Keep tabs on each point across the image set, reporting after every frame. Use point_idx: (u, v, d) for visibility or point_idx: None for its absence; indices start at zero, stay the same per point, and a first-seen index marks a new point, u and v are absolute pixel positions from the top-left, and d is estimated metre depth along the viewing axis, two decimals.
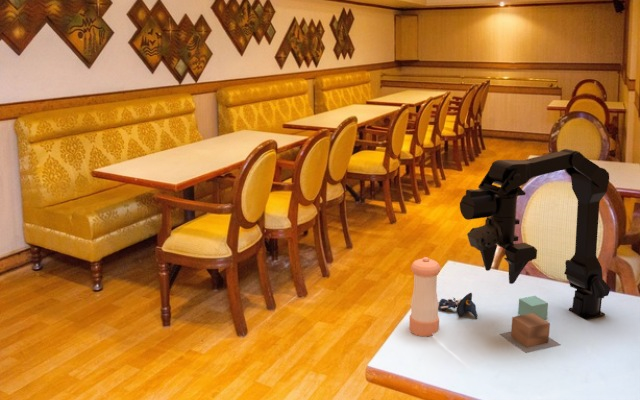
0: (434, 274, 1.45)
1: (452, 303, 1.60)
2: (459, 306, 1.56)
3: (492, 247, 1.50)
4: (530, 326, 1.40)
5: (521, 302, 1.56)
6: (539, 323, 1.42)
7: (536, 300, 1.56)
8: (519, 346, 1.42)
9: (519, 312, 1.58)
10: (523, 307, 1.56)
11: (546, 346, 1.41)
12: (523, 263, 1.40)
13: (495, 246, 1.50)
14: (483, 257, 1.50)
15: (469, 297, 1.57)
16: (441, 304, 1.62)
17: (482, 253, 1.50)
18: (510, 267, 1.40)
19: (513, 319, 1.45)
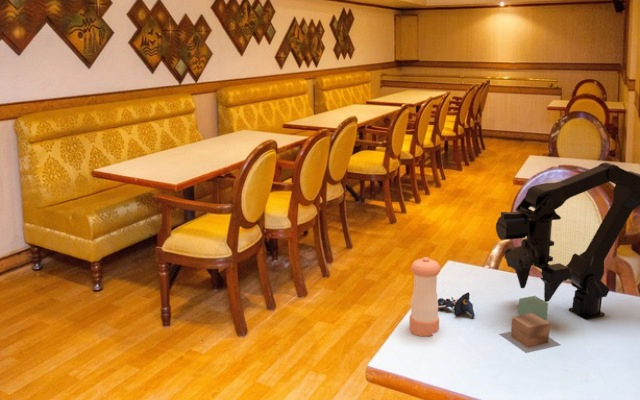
0: (434, 274, 1.45)
1: (449, 302, 1.60)
2: (456, 305, 1.56)
3: None
4: (530, 326, 1.40)
5: (521, 302, 1.56)
6: (539, 323, 1.42)
7: (536, 300, 1.56)
8: (519, 346, 1.42)
9: (519, 312, 1.58)
10: (523, 307, 1.56)
11: (546, 346, 1.41)
12: (558, 282, 1.49)
13: (529, 265, 1.59)
14: (518, 276, 1.59)
15: (466, 297, 1.57)
16: (439, 303, 1.62)
17: (518, 272, 1.59)
18: (546, 286, 1.49)
19: (513, 319, 1.45)
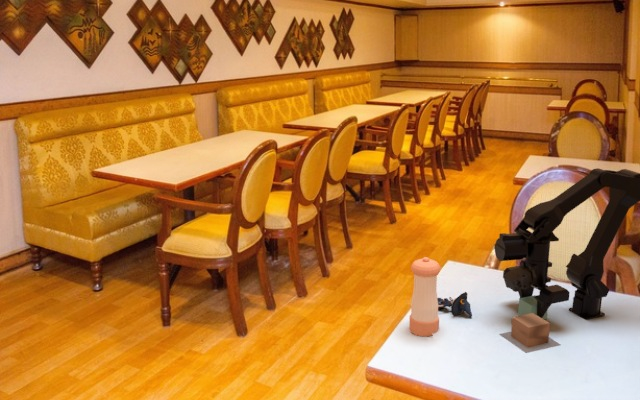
0: (434, 274, 1.45)
1: (447, 302, 1.60)
2: (453, 305, 1.56)
3: (530, 289, 1.59)
4: (530, 326, 1.40)
5: (521, 301, 1.56)
6: (539, 323, 1.42)
7: (536, 300, 1.56)
8: (519, 346, 1.42)
9: (519, 312, 1.58)
10: (523, 306, 1.56)
11: (546, 346, 1.41)
12: None
13: (532, 288, 1.59)
14: None
15: (464, 296, 1.58)
16: None
17: (520, 295, 1.58)
18: (538, 304, 1.52)
19: (513, 319, 1.45)
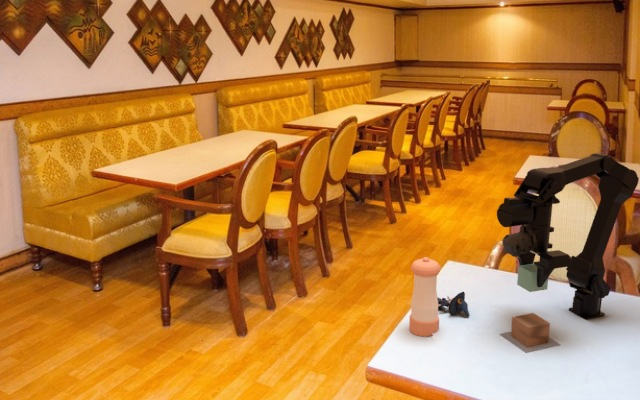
0: (434, 274, 1.45)
1: (445, 302, 1.61)
2: (451, 305, 1.57)
3: (530, 256, 1.51)
4: (530, 326, 1.40)
5: (521, 268, 1.49)
6: (539, 323, 1.42)
7: None
8: (519, 346, 1.42)
9: (518, 280, 1.50)
10: (523, 274, 1.48)
11: (546, 346, 1.41)
12: None
13: (533, 255, 1.51)
14: None
15: (461, 296, 1.58)
16: None
17: (521, 262, 1.51)
18: (539, 271, 1.44)
19: (513, 319, 1.45)
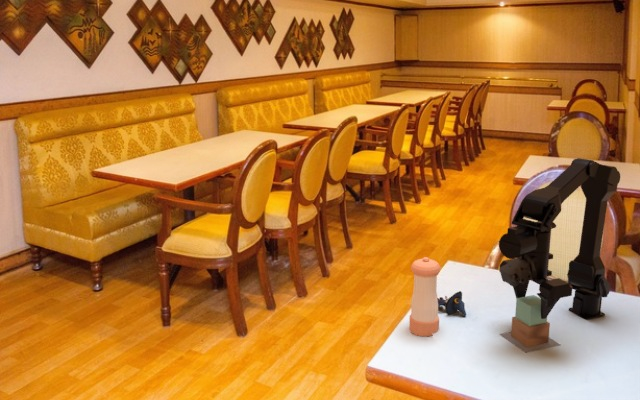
0: (434, 274, 1.45)
1: (442, 301, 1.61)
2: (447, 304, 1.57)
3: None
4: (530, 326, 1.40)
5: (519, 301, 1.43)
6: None
7: (535, 300, 1.42)
8: (519, 346, 1.42)
9: (517, 313, 1.44)
10: (521, 307, 1.42)
11: (546, 346, 1.41)
12: (556, 298, 1.37)
13: None
14: (515, 291, 1.46)
15: (458, 296, 1.58)
16: None
17: (515, 287, 1.46)
18: (542, 302, 1.37)
19: (513, 319, 1.45)
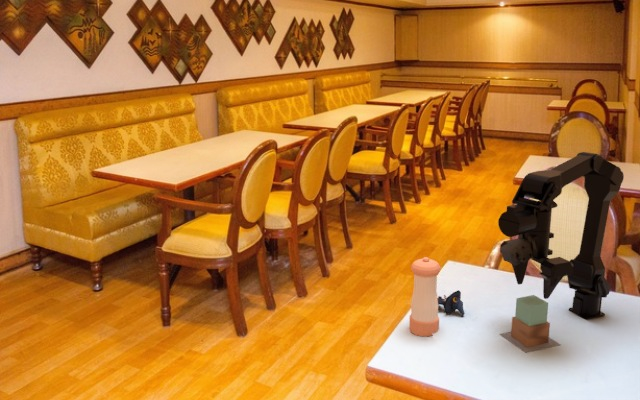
0: (434, 274, 1.45)
1: (441, 300, 1.61)
2: (446, 303, 1.57)
3: None
4: (530, 326, 1.40)
5: (519, 301, 1.43)
6: None
7: (535, 300, 1.42)
8: (519, 346, 1.42)
9: (517, 313, 1.44)
10: (521, 307, 1.42)
11: (546, 346, 1.41)
12: (558, 278, 1.37)
13: None
14: (515, 271, 1.47)
15: (457, 295, 1.59)
16: None
17: (514, 267, 1.47)
18: (545, 282, 1.37)
19: (513, 319, 1.45)
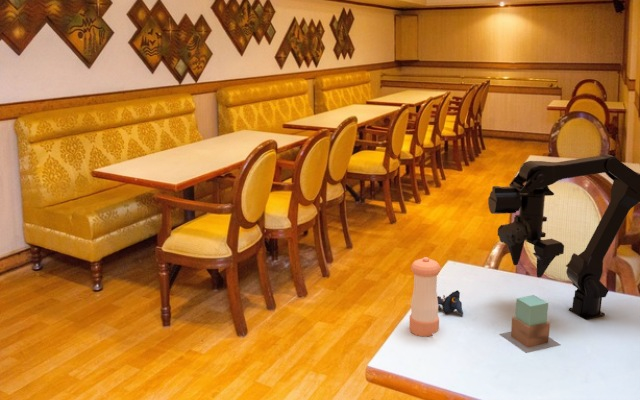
0: (434, 274, 1.45)
1: (439, 300, 1.62)
2: (445, 303, 1.57)
3: (519, 243, 1.59)
4: (530, 326, 1.40)
5: (519, 301, 1.43)
6: None
7: (535, 300, 1.42)
8: (519, 346, 1.42)
9: (517, 313, 1.44)
10: (521, 307, 1.42)
11: (546, 346, 1.41)
12: (550, 258, 1.49)
13: (522, 242, 1.59)
14: (511, 252, 1.59)
15: (456, 295, 1.59)
16: None
17: (510, 249, 1.59)
18: (538, 261, 1.49)
19: (513, 319, 1.45)
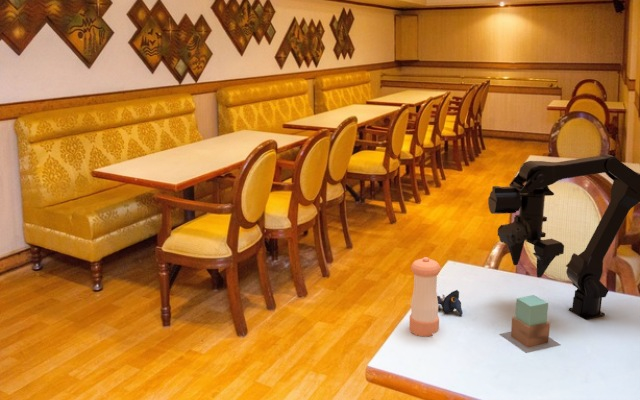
0: (434, 274, 1.45)
1: (439, 300, 1.62)
2: (444, 303, 1.58)
3: (519, 243, 1.59)
4: (530, 326, 1.40)
5: (519, 301, 1.43)
6: None
7: (535, 300, 1.42)
8: (519, 346, 1.42)
9: (517, 313, 1.44)
10: (521, 307, 1.42)
11: (546, 346, 1.41)
12: (550, 258, 1.49)
13: (522, 242, 1.59)
14: (511, 252, 1.59)
15: (455, 294, 1.59)
16: None
17: (510, 249, 1.59)
18: (538, 261, 1.49)
19: (513, 319, 1.45)
